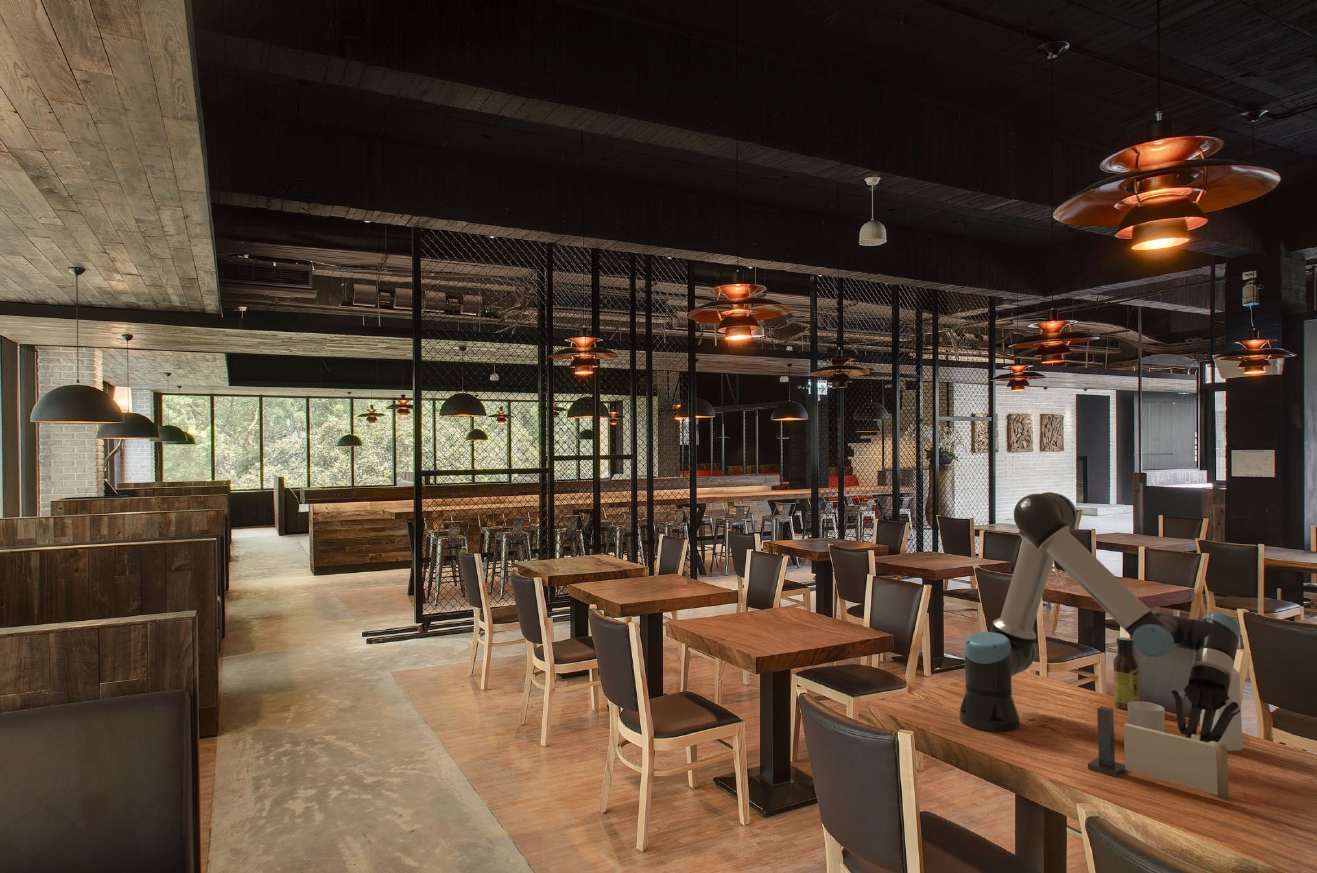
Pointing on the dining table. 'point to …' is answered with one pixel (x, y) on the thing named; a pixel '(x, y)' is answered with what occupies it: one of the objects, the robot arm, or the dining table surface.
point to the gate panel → (1177, 759)
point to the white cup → (1146, 715)
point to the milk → (1234, 729)
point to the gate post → (1106, 745)
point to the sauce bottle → (1125, 674)
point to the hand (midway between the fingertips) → (1191, 764)
